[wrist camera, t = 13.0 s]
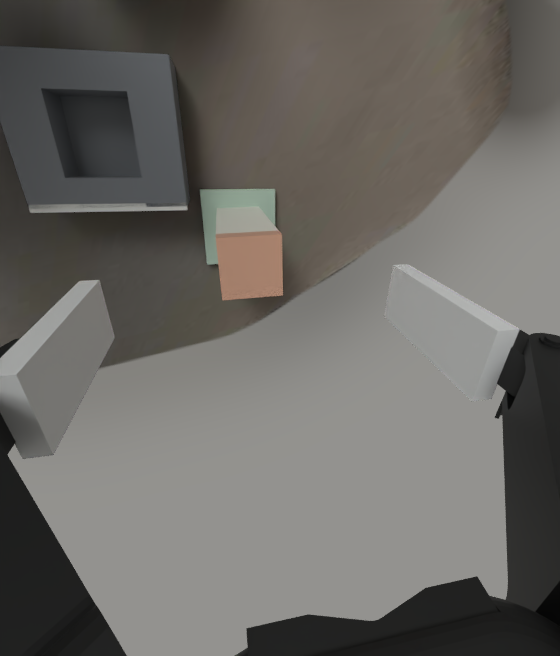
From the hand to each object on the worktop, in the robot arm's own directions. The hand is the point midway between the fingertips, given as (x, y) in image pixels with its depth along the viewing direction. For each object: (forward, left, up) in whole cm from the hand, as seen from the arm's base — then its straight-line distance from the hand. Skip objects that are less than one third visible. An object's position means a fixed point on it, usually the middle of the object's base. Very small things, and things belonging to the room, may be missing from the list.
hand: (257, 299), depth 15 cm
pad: (0, 0, -20) cm, 20 cm away
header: (-10, +7, -20) cm, 24 cm away
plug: (0, 0, -19) cm, 19 cm away
